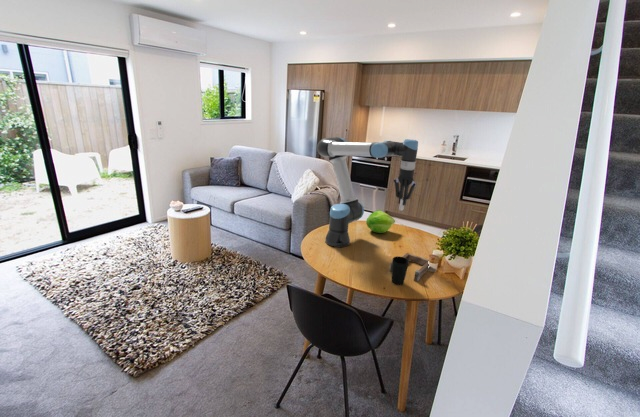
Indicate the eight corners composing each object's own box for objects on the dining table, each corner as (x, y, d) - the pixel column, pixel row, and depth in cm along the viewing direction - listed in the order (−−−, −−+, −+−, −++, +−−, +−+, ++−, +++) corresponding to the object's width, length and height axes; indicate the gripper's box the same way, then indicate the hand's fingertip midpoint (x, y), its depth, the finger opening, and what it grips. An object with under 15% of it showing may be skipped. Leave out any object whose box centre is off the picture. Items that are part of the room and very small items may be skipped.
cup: (403, 288, 145) (406, 265, 142) (387, 283, 149) (390, 260, 145) (407, 281, 152) (410, 259, 148) (392, 276, 155) (395, 254, 152)
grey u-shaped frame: (389, 271, 160) (390, 262, 159) (405, 258, 176) (406, 250, 174) (417, 281, 152) (419, 272, 150) (431, 267, 167) (433, 258, 166)
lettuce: (398, 235, 209) (399, 218, 201) (369, 239, 207) (369, 222, 200) (390, 222, 221) (392, 206, 214) (363, 226, 219) (363, 210, 212)
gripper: (393, 167, 169) (387, 208, 176) (415, 171, 161) (409, 214, 168) (399, 166, 174) (393, 206, 182) (421, 170, 167) (414, 211, 174)
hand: (401, 210), depth 175 cm, fingers closed
